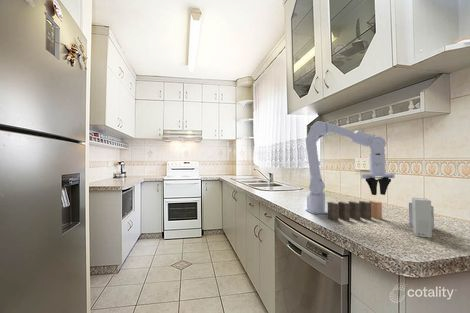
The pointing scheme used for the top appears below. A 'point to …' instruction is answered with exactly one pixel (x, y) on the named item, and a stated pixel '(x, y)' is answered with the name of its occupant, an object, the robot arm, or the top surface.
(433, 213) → the medicine box
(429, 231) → the skincare box
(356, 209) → the dark tile
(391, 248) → the top surface
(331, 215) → the dark tile
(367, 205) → the domino block
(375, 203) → the peach block
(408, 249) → the top surface
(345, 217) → the dark tile
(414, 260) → the top surface
